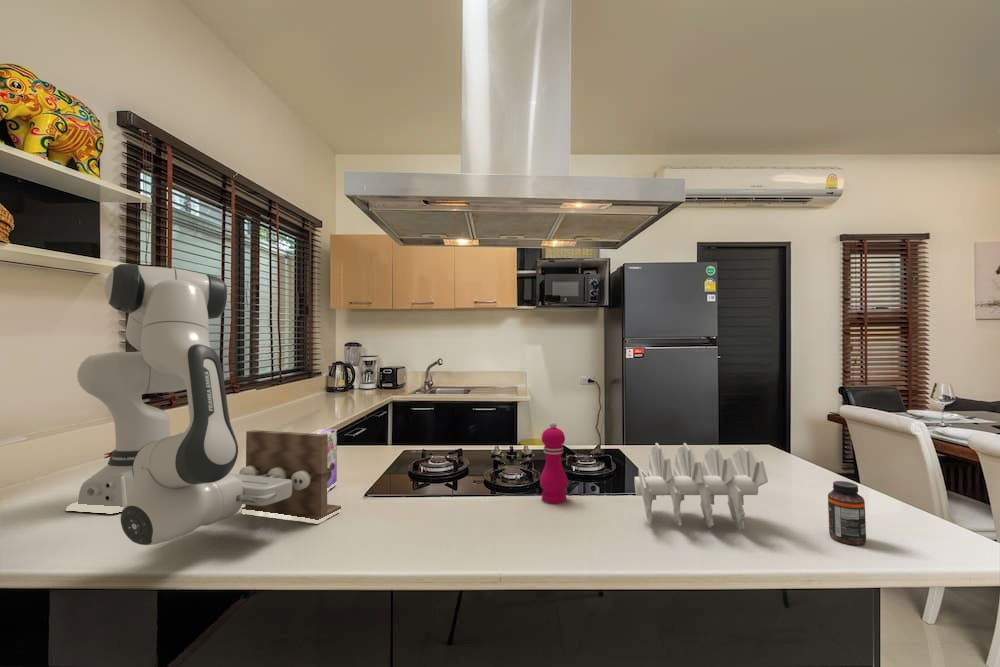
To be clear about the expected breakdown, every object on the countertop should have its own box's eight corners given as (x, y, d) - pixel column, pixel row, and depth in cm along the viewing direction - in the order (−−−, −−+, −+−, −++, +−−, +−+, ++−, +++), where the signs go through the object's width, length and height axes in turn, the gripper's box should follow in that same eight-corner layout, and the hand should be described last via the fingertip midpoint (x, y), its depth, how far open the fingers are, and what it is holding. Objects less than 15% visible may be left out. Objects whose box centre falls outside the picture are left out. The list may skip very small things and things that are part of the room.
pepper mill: (567, 495, 119) (566, 419, 120) (568, 504, 112) (567, 424, 113) (540, 494, 120) (539, 419, 121) (539, 503, 113) (539, 424, 113)
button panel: (241, 514, 107) (242, 432, 108) (268, 503, 114) (269, 426, 115) (318, 524, 100) (318, 437, 101) (341, 512, 108) (341, 430, 109)
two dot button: (290, 489, 100) (290, 471, 100) (308, 482, 105) (308, 465, 105) (305, 491, 99) (305, 472, 99) (322, 483, 104) (322, 466, 104)
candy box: (317, 501, 116) (317, 437, 116) (294, 501, 116) (295, 437, 116) (337, 485, 129) (337, 428, 130) (317, 485, 129) (317, 428, 130)
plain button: (267, 485, 103) (267, 467, 103) (285, 478, 108) (285, 462, 108) (281, 486, 102) (281, 469, 102) (298, 480, 107) (299, 463, 107)
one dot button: (238, 483, 104) (238, 466, 105) (258, 477, 110) (258, 460, 110) (251, 485, 103) (252, 467, 103) (271, 478, 109) (271, 462, 109)
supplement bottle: (830, 531, 95) (828, 477, 95) (866, 539, 91) (864, 482, 91) (828, 541, 90) (826, 484, 90) (866, 549, 86) (864, 489, 87)
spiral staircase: (636, 531, 105) (751, 532, 101) (644, 524, 90) (780, 525, 86) (628, 453, 114) (733, 451, 109) (633, 434, 98) (756, 431, 94)
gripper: (261, 485, 86) (311, 467, 100) (182, 476, 93) (240, 460, 106) (260, 518, 86) (311, 496, 99) (182, 507, 92) (239, 487, 105)
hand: (273, 477), depth 103 cm, fingers closed, pressing on plain button
